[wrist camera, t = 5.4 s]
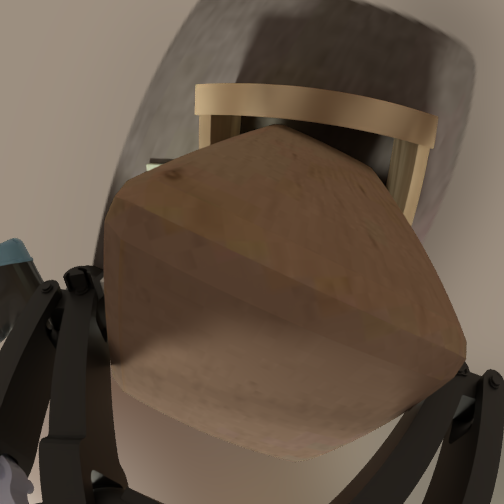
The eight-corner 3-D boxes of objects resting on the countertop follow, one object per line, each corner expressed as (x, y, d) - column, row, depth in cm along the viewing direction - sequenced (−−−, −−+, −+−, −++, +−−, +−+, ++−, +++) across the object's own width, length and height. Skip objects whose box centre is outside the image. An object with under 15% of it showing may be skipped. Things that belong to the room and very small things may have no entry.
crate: (229, 239, 34) (200, 279, 27) (233, 89, 25) (195, 84, 18) (373, 265, 31) (381, 314, 23) (406, 113, 21) (438, 116, 14)
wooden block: (273, 119, 21) (89, 178, 5) (379, 170, 21) (488, 364, 4) (235, 215, 27) (106, 387, 10) (327, 258, 26) (302, 469, 10)
